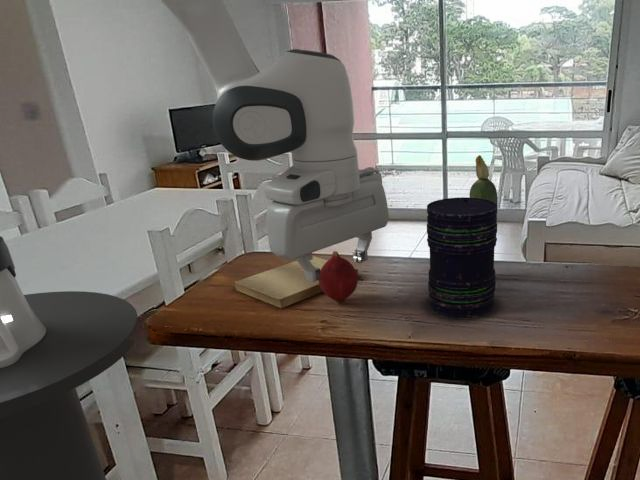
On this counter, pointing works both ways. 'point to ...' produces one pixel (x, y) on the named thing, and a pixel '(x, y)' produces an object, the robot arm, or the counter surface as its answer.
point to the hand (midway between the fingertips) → (338, 270)
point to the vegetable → (483, 183)
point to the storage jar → (462, 257)
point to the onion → (338, 278)
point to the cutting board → (282, 284)
